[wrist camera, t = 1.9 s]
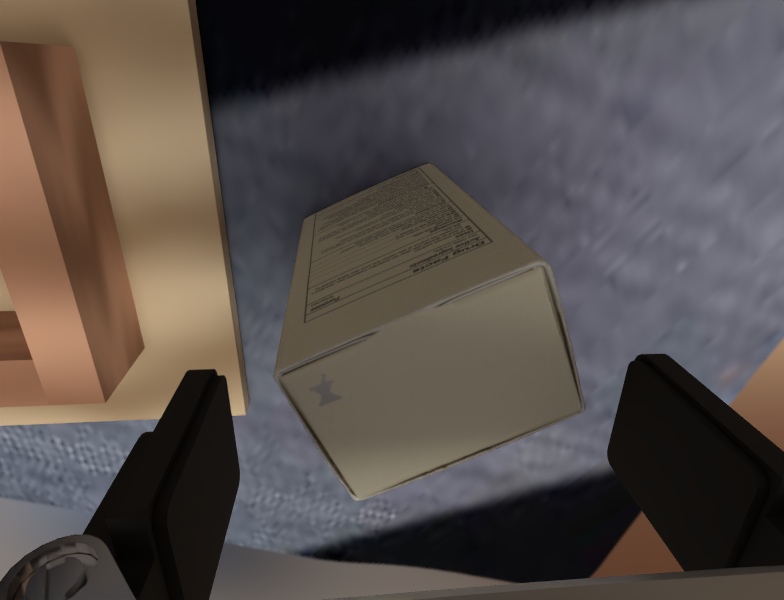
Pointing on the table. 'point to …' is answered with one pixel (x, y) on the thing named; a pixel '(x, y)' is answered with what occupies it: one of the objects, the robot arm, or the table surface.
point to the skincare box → (420, 334)
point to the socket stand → (109, 214)
